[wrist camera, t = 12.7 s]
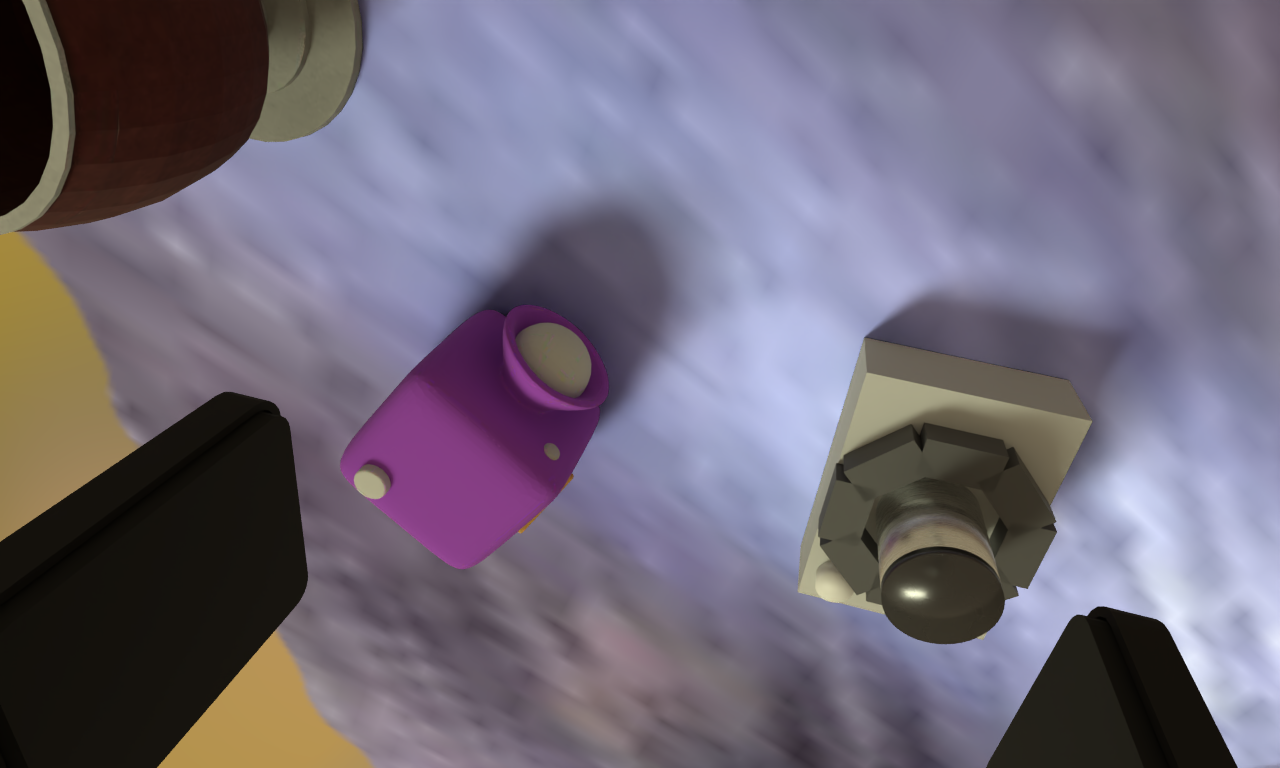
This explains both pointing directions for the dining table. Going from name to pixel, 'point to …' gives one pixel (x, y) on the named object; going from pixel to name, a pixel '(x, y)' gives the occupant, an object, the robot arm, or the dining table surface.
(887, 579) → the lens
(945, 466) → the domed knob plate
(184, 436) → the robot arm
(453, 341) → the toy camera
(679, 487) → the dining table surface
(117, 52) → the mate gourd
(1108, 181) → the dining table surface
